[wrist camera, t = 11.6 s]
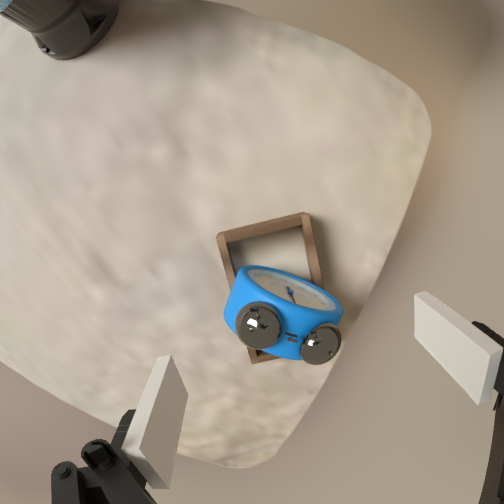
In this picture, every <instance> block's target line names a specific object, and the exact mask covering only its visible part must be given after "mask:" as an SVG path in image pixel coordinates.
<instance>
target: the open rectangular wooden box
mask: <svg viewBox="0 0 504 504" xmlns="http://www.w3.org/2000/svg"><path fill="white" fill-rule="evenodd" d="M216 239H217V243H218V247H219V250H220V254H221V258H222V261H223V265H224V269H225V272H226V276H227V280H228V283H229V287H230V290H232V287H233V284H234V281H235V279H236V276H237V273H238V271H239V269H240V268H242V267H244V266H247V265H260V266H266V267H271V268H275V269H278V270H281V271H285V272H287V273H290V274H293V275H295V276H298V277H300V278H303V279H305V280H307V281H309V282H311V283H313V284H315V285H317V286H319V287H320V288H322V289H323V283H322V278H321V272H320V267H319V262H318V257H317V252H316V247H315V242H314V237H313V232H312V227H311V222H310V218H309V215H308V214H306V213H304V212H302V213H297V214H293V215H289V216H285V217H280V218H276V219H272V220H268V221H264V222H260V223H256V224H251V225H247V226H243V227H239V228H235V229H231V230H227V231H223V232H219V233H218V234H217V236H216ZM247 349H248V353H249V356H250V359H251V363H252V364H255V363H260V362H264V361H269V360H273V359H278V358H282V357H278V356H275V355H272V354H269V353H267V352H264V351H262V350H256V349H252V348H249V347H247Z"/></svg>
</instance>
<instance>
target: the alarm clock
mask: <svg viewBox="0 0 504 504" xmlns="http://www.w3.org/2000/svg"><path fill="white" fill-rule="evenodd" d="M342 314H343V308H342V305H341V304H340V302H339V301H338V300H337V299H336V298H335V297H334V296H332V295H331V294H330V293H328V292H327V291H325V290H324V289H322V288H320V287H319V286H317V285H315V284H313V283H311V282H309V281H307V280H305V279H303V278H300V277H298V276H295V275H293V274H290V273H287V272H285V271H281V270H278V269H275V268H271V267H266V266H260V265H247V266H244V267H242V268H240V269H239V271H238V273H237V276H236V279H235V281H234V284H233V287H232V290H231V292H230V295H229V298H228V301H227V303H226V306H225V309H224V318H225V321H226V323H227V324H228V326H229V327H230V328H231V329H232V330H233V331H234V332H235V333H236V334H237V336H238V338H239V339H240V341H241V342H242V343H243V344H244V345H246V346H247V347H249V348H252V349H256V350H262V351H264V352H267V353H269V354H272V355H275V356H278V357H282V358H286V359H293V360H304V361H305V362H306V363H308V364H311V365H321V364H324V363H326V362H328V361H330V360H331V359H332V358H333V357H334V356H335V355H336V354H337V352H338V351H339V348H340V346H341V340H342V339H341V333H340V331H339V329H338V328H337V325H338V323H339V321H340V319H341V316H342Z"/></svg>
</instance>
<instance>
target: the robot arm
mask: <svg viewBox="0 0 504 504" xmlns="http://www.w3.org/2000/svg"><path fill="white" fill-rule="evenodd" d="M117 11H118V1H117V0H0V15H2V16H3V17H5V18H7V19H9V20H10V21H12V22H14V23H16V24H17V25H19V26H21V27H23V28H24V29H26V30H28V31H29V32H31V34H32V36H33V37H34V39H35V41H36V43H37V45H38V47H39V48H40V50H41V51H42V52H43V53H45V54H46V55H48V56H50V57H51V58H54V59H57V60H65V59H70V58H73V57H76V56H78V55H80V54H82V53H84V52H86V51H87V50H89V49H90V48H92V47H93V46H94V45H95V44H96V43H98V42H99V41H100V40H101V39H102V38H103V37H104V35H105V34H106V33H107V32H108V30H109V29H110V27H111V26H112V24H113V22H114V20H115V18H116V15H117ZM414 315H415V316H414V317H415V332H414V335H415V336H414V337H415V338H416V339H417V341H418V342H419V343H420V344H421V345H422V346H423V347H424V348H425V349H426V350H427V351H428V352H429V353H430V354H431V355H432V356H433V357H434V358H435V359H436V360H437V361H438V362H439V363H440V365H442V367H443V368H444V369H445V370H446V371H447V372H448V373H449V374H450V375H451V376H452V377H453V378H454V379H455V381H456V382H457V383H458V384H459V385H460V386H461V387H462V388H463V389H464V390H465V392H466V393H467V394H468V395H469V396H470V397H471V398H472V399H473V400H474V402H475V403H476V404H477V405H478V406H479V405H481V404H482V403H484V402H486V401H487V400H489V399H490V398H491V396H492V393H493V389H495V390H496V391H497V392H498V396H497V399H496V402H495V405H494V408H493V410H495V409H496V413H495V422H494V431H493V438H492V445H491V451H490V457H489V462H488V467H487V472H486V477H485V482H484V486H483V489H482V493H481V497H480V500H479V504H504V338H502V337H501V336H500V335H498V334H496V333H495V332H494V331H493V330H491V329H490V328H489V327H487V326H486V325H484V324H482V323H479V322H476V321H474V322H472V323H470V322H469V321H467V320H466V319H465V318H463V317H462V316H460V315H459V314H458V313H456V312H455V311H454V310H452V309H451V308H449V307H448V306H447V305H445V304H444V303H443V302H441V301H440V300H438V299H437V298H435V297H434V296H433V295H431V294H430V293H428V292H427V291H423V292H420V293H417V294H414ZM187 398H188V393H187V390H186V388H185V386H184V384H183V381H182V379H181V377H180V375H179V372H178V370H177V368H176V365H175V363H174V361H173V358H172V356H171V355H167V356H160V357H158V358H157V360H156V363H155V365H154V367H153V370H152V372H151V375H150V377H149V379H148V382H147V384H146V387H145V389H144V392H143V394H142V397H141V399H140V402H139V404H138V407H137V409H135V410H128V411H127V412H126V413H125V415H124V416H123V417H122V419H121V421H120V423H119V426H118V428H117V431H116V433H115V435H114V437H113V440H112V442H111V444H109V443H108V442H107V441H106V440H103V439H96V440H93V441H90V442H89V443H87V444H86V445H85V446H84V447H83V449H82V451H81V457H82V458H83V460H84V461H85V462H86V463H87V465H88V467H83V468H77V467H76V465H74V464H73V463H72V462H69V461H66V462H62V463H59V464H58V465H57V466H55V467H54V469H53V471H52V474H51V488H52V489H51V492H52V504H157V503H156V502H155V501H154V499H153V498H152V497H151V495H150V494H149V493H148V491H147V490H146V489H145V486H146V482H148V483H149V485H150V486H151V487H152V488H154V489H157V488H158V489H169V488H170V482H171V477H172V471H173V467H174V461H175V456H176V451H177V446H178V441H179V436H180V432H181V427H182V422H183V417H184V412H185V408H186V403H187Z"/></svg>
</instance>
